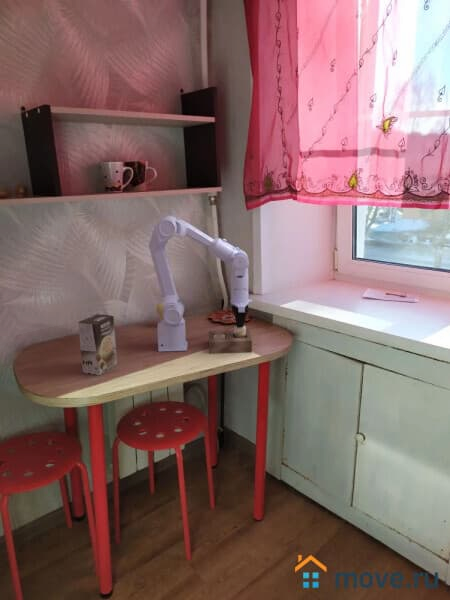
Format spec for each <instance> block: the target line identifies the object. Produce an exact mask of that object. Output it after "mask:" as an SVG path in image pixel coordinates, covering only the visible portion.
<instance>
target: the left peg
mask: <svg viewBox="0 0 450 600" xmlns="http://www.w3.org/2000/svg"><path fill="white" fill-rule="evenodd" d="M217 338H225V335H224V334H215V335H214V336H213V339H217Z"/></svg>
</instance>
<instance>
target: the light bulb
mask: <svg viewBox="0 0 450 600" xmlns="http://www.w3.org/2000/svg"><path fill="white" fill-rule="evenodd" d="M155 309H156V314H157V316H158V317H159V318H160V323H162V322H164V319H163V313H164V308H163V301H162V302H161V301H160V302H159V303H158V304H157V306H156V308H155Z"/></svg>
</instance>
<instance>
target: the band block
mask: <svg viewBox="0 0 450 600" xmlns="http://www.w3.org/2000/svg"><path fill="white" fill-rule="evenodd" d="M215 334H224V335H225V338H217V339H213V336H214V335H215ZM208 345H209V346H208V350H209V354H211V355H213V354H241V353H245V354H247V353H252V352H253V340H252V336H251V333H250V329H246V338H234V329H231V330H229V329H228V330H224V329H223V330H208Z"/></svg>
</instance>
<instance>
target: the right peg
mask: <svg viewBox="0 0 450 600" xmlns="http://www.w3.org/2000/svg"><path fill="white" fill-rule="evenodd" d="M233 330H234V338H246V330H247V326H245V325H244V326H243V327H237V325H235V326H233Z"/></svg>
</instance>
